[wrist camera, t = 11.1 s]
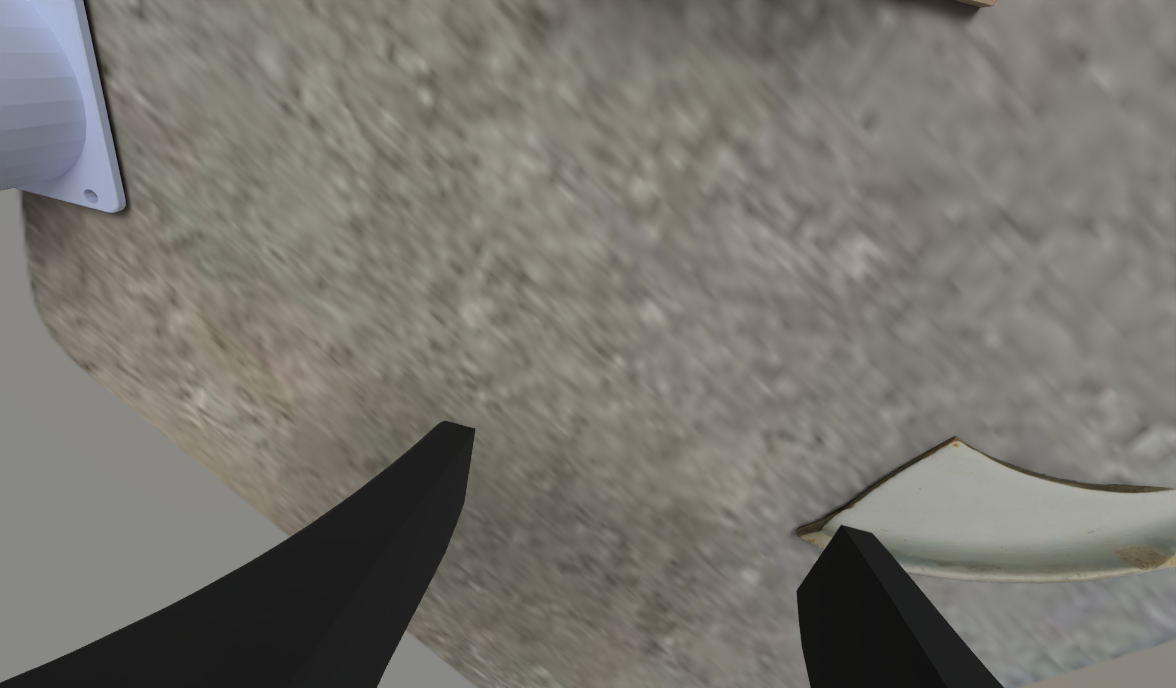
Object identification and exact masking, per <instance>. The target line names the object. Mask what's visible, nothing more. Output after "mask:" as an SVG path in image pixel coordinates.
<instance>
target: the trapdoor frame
mask: <svg viewBox="0 0 1176 688" xmlns="http://www.w3.org/2000/svg"><path fill="white" fill-rule="evenodd" d="M955 1H959V2H962V3H966V4H970V5H974V6H978V7H989V6H994V4H995V2H996V0H955Z"/></svg>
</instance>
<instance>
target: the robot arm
mask: <svg viewBox="0 0 1176 688" xmlns="http://www.w3.org/2000/svg"><path fill="white" fill-rule="evenodd" d="M10 188H16V189H20V190H24V191H28V192H32V193H35V194H39V195H43V196H47V197H51V198H54V199H58V200H62V201H66V202H70V203H74V204H77V205H81V206H85V207H89V208H93V209H96V210H100V211H104V212H108V213H115V212H118V211H121V210H123V209H124V208H125V206H126V200H125V196H124V191H123V186H122V181H121V177H120V172H119V167H118V163H117V158H116V153H115V148H114V144H113V139H112V134H111V130H110V125H109V120H108V115H107V111H106V106H105V101H104V97H103V92H102V87H101V82H100V78H99V73H98V68H97V63H96V59H95V54H94V49H93V45H92V40H91V35H90V30H89V26H88V21H87V16H86V12H85V7H84V2H83V0H0V190H5V189H10ZM95 194H96V195H97V197H98V198H97V197H96V195H95ZM474 435H475V428H471V427H467V426H463V425H459V424H456V423H452V422H448V421H443V422H441V423H439V424H438V425H437V426H435V427H434V428H433V429H432V430H431V431H430V432H429V433H428V434H427V435H426V436H424V437H423V438H422V439H421V440H420V441H419V442H418V443H416V444H415V445H414V446H413V447H412V448H411V449H409V450H408V451H407V452H406V453H405V454H403V455H402V456H401V457H400V458H399V459H397V460H396V461H395V462H394V463H393V464H391V465H390V466H389V467H388V468H386V469H385V470H384V471H382V472H381V473H380V474H379V475H377V476H376V477H375V478H373V479H372V480H371V481H370V482H368V483H367V484H366V485H364V486H363V487H362V488H361V489H359V490H358V491H357V492H355V493H354V494H352V495H351V496H350V497H348V498H347V499H345V500H344V501H343V502H341V503H340V504H338V505H337V506H335V507H334V508H333V509H331V510H330V511H328V512H327V513H326V514H324V515H323V516H321V517H320V518H318V519H317V520H316V521H314V522H313V523H311V524H310V525H308V526H307V527H305V528H304V529H302V530H301V531H299V532H297V533H296V534H294V535H293V536H291V537H290V538H288V539H287V540H285V541H283V542H282V543H280V544H279V545H277V546H276V547H274V548H272V549H270V550H269V551H267V552H266V553H264V554H262V555H260V556H259V557H257V558H255V559H254V560H252V561H250V562H249V563H247V564H245V565H244V566H242V567H240V568H238V569H236V570H234V571H233V572H231V573H229V574H227V575H225V576H224V577H222V578H220V579H218V580H216V581H215V582H213V583H211V584H209V585H208V586H206V587H204V588H202V589H200V590H198V591H196V592H195V593H193V594H191V595H189V596H187V597H185V598H183V599H181V600H179V601H177V602H176V603H174V604H172V605H170V606H168V607H166V608H164V609H162V610H160V611H158V612H155V613H153V614H151V615H149V616H147V617H145V618H143V619H141V620H139V621H137V622H135V623H133V624H130V625H128V626H126V627H124V628H122V629H120V630H118V631H116V632H113V633H111V634H109V635H107V636H105V637H103V638H101V639H99V640H97V641H95V642H92V643H90V644H88V645H86V646H84V647H82V648H80V649H78V650H76V651H73V652H71V653H69V654H67V655H64V656H62V657H60V658H58V659H55V660H53V661H51V662H49V663H46V664H44V665H41V666H39V667H37V668H34V669H32V670H29V671H27V672H25V673H22V674H20V675H18V676H15V677H13V678H10V679H8V680H5V681H3V682H1V683H0V688H377V685H378V684H379V682H380V680H381V677H382V675H383V673H384V671H385V669H386V667H387V665H388V663H389V661H390V659H391V657H392V655H393V653H394V651H395V649H396V647H397V645H398V643H399V641H400V640H401V637H402V636H403V634H404V632H405V630H406V628H407V626H408V624H409V622H410V620H411V618H412V616H413V614H414V613H415V611H416V609H417V607H418V605H419V603H420V601H421V599H422V597H423V595H424V593H425V591H426V589H427V587H428V585H429V583H430V581H431V579H432V578H433V576H434V574H435V572H436V570H437V568H438V566H439V564H440V562H441V560H442V558H443V556H444V554H445V552H446V549H447V547H448V544H449V542H450V539H451V536H452V534H453V531H454V529H455V526H456V524H457V521H458V518H459V516H460V513H461V510H462V508H463V505H464V501H465V494H466V488H467V481H468V474H469V468H470V461H471V455H472V448H473V441H474ZM797 603H798V615H799V626H800V634H801V643H802V649H803V654H804V659H805V663H806V668H807V672H808V677H809V681H810V686H811V688H1004V687H1003V686H1002V685H1001V684H1000V683H999V682H998V681H997V679H996V678H995V677H994V676H993V675H992V674H991V673H990V671H989V670H988V669H987V668H986V667H985V666H984V665H983V663H982V662H981V661H980V660H979V659H978V658H977V657H976V655H975V654H974V653H973V652H972V651H971V650H970V648H969V647H968V646H967V645H966V644H965V643H964V641H963V640H962V639H961V638H960V637H959V635H958V634H957V633H956V632H955V631H954V629H953V628H952V627H951V626H950V625H949V623H948V622H947V621H946V620H945V619H944V617H943V616H942V615H941V614H940V613H939V611H938V610H937V609H936V608H935V607H934V605H933V604H932V603H931V602H930V601H929V599H928V598H927V597H926V596H925V594H924V593H923V592H922V591H921V590H920V588H919V587H918V586H917V585H916V584H915V582H914V581H913V580H912V579H911V577H910V576H909V575H908V574H907V573H906V571H905V570H904V569H903V568H902V567H901V565H900V564H899V563H898V562H897V561H896V559H895V558H894V557H893V556H892V555H891V553H890V552H889V551H888V550H887V549H886V548H885V547H884V545H883V544H882V543H881V542H880V541H879V540H878V539H877V538H876V536H875V535H874V534H873V533H871V532H867V531H863V530H860V529H856V528H852V527H848V526H844V525H840V527H839V528H838V530H837V531H836V533H835V534H834V536H833V537H832V539H831V540H830V542H829V543H828V545H827V546H826V548H825V549H824V551H823V552H822V554H821V555H820V557H819V558H818V560H817V561H816V563H815V564H814V566H813V567H812V569H811V570H810V572H809V573H808V575H807V576H806V578H805V579H804V581H803V582H802V584H801V585H800V587H799V588H798V590H797Z"/></svg>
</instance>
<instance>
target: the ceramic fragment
mask: <svg viewBox="0 0 1176 688" xmlns="http://www.w3.org/2000/svg"><path fill="white" fill-rule="evenodd" d="M840 525H844V526H848V527H852V528H856V529H860V530H863V531H867V532H871V533H873V534H874V535H875V536H876V538H877V539H878V540H879V541H880V542H881V543H882V544H883V545H884V547H885V548H886V549H887V550H888V551H889V552H890V553H891V555H892V556H893V557H894V558H895V559H896V561H897V562H898V563H899V564H900V565H901V567H902V568H903V569H904V570H905V571H906V573H912V574H917V575H924V576H930V577H938V578H946V579H956V580H966V581H978V582H998V583H1064V582H1080V581H1091V580H1100V579H1109V578H1116V577H1123V576H1129V575H1135V574H1140V573H1146V572H1152V571H1158V570H1164V569H1169V568H1173V567H1176V489H1173V488H1163V487H1151V486H1132V485H1094V484H1085V483H1080V482H1076V481H1070V480H1063V479H1057V478H1053V477H1050V476H1046V475H1045V474H1038V473H1035V472H1032V471H1029V470H1025V469H1022V468H1020V467H1017V466H1014V465H1012V464H1010V463H1006V462H1004V461H1000V460H998V459H996V458H993V457H990V456H989V455H986V454H984V453H983V452H980V451H978V450H976V449H974V448H973V447H971V446H970V445H968V444H966V443H965V442H963V441H962V440H960V439H959V438H958V437H956V436H954V437H953V438H951V439H948V440H946V441H945V442H943V443H941V444H939V445H937V446H936V447H934V448H932V449H930V450H929V451H927V452H925V453H924V454H922V455H920V456H918V457H917V458H915V459H913V460H912V461H910V462H908V463H906V464H905V465H903V466H902V467H900V468H898V469H897V470H895V471H893V472H892V473H890V474H889V475H887V476H886V477H885V478H883V479H882V480H881V481H879V482H878V483H876V484H875V485H873V486H872V487H871V488H870V489H868V490H867V491H866V492H864V493H863V494H862V495H860V496H859V497H857V498H856V499H854V500H853V501H852V502H851V503H849V504H848V505H846V506H844V507H843V508H841V509H840V510H838V511H836V512H835V513H833V514H832V515H830V516H828V517H826V518H824V519H821V520H819V521H817V522H815V523H812V524H810V525H807V526H804V527H802V528H799V529H798V530H797V536H798V537H800V538H801V539H803V540H805V541H807V542H809V543H811V544H813V545H815V546H817V547H819V548H823V549H825V548H826V546H827V545H828V543H829V542H830V540H831V539H832V537H833V536H834V534H835V533H836V531H837V530H838V528H839V527H840Z"/></svg>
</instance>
